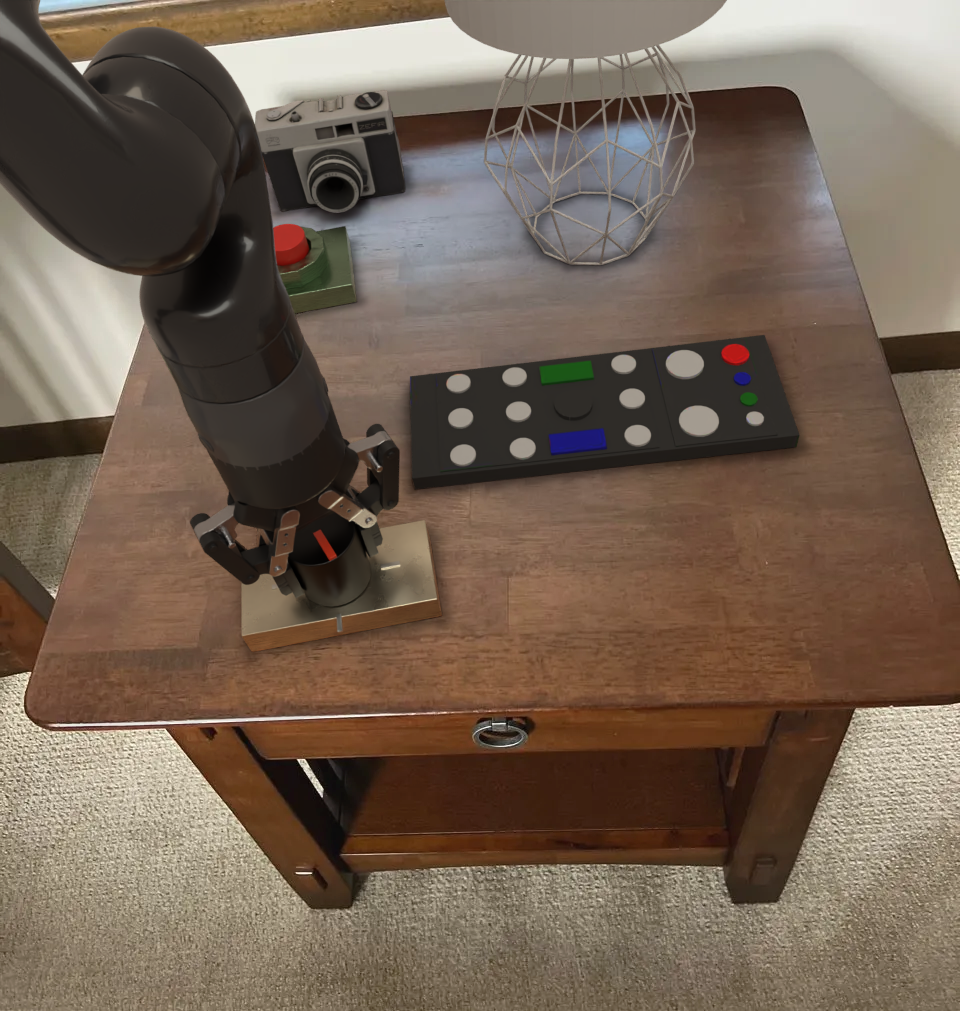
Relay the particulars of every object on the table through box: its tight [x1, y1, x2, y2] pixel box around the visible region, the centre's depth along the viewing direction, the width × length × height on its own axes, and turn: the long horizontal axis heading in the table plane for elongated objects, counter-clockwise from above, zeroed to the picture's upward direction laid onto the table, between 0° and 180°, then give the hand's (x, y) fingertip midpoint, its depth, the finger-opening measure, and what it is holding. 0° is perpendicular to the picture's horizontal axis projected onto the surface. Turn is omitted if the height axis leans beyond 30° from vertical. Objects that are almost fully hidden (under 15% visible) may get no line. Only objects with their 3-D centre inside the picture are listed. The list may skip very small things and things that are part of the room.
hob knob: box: [288, 512, 371, 606], centre depth 64 cm, size 5×5×6 cm
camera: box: [254, 89, 406, 214], centre depth 93 cm, size 14×9×10 cm, turn 89°
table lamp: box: [444, 0, 728, 266], centre depth 74 cm, size 22×22×40 cm
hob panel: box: [240, 519, 443, 653], centre depth 67 cm, size 14×9×3 cm
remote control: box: [409, 334, 800, 490], centre depth 75 cm, size 11×30×2 cm, turn 93°
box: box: [278, 225, 358, 314], centre depth 89 cm, size 11×9×4 cm
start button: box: [273, 223, 309, 266], centre depth 86 cm, size 4×4×2 cm
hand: (331, 566), depth 66 cm, fingers closed on hob knob, 5 cm apart
